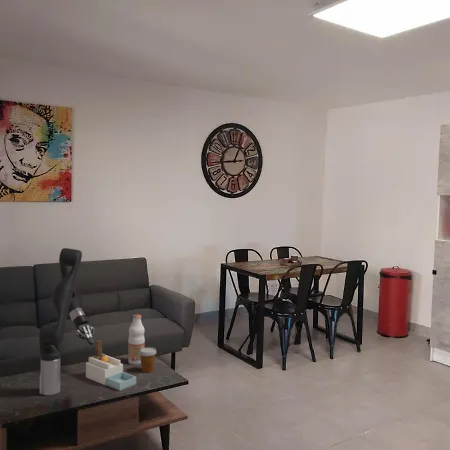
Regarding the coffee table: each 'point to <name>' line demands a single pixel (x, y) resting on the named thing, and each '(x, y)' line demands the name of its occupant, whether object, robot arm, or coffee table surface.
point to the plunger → (98, 350)
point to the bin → (121, 381)
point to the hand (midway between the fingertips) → (92, 344)
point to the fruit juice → (136, 340)
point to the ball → (104, 359)
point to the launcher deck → (102, 369)
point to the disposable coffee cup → (147, 359)
